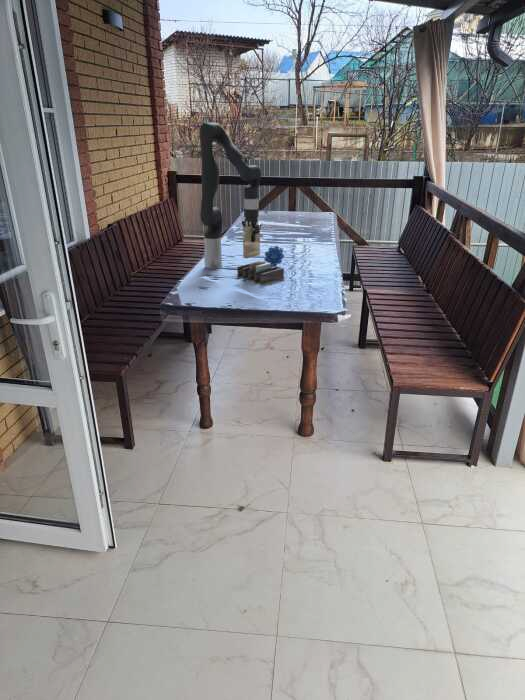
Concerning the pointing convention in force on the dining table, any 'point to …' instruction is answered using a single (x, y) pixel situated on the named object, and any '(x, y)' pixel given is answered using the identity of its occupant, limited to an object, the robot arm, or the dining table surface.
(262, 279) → the rack
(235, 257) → the dining table surface
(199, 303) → the dining table surface
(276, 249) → the grapes
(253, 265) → the offcut oak
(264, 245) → the dining table surface
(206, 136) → the robot arm
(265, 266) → the offcut grey
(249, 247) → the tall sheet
